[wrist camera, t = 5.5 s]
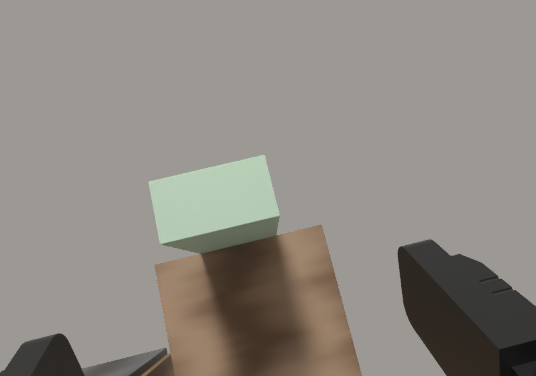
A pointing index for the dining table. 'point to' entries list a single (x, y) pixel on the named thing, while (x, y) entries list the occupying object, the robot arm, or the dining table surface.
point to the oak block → (136, 366)
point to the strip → (216, 206)
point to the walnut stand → (258, 310)
